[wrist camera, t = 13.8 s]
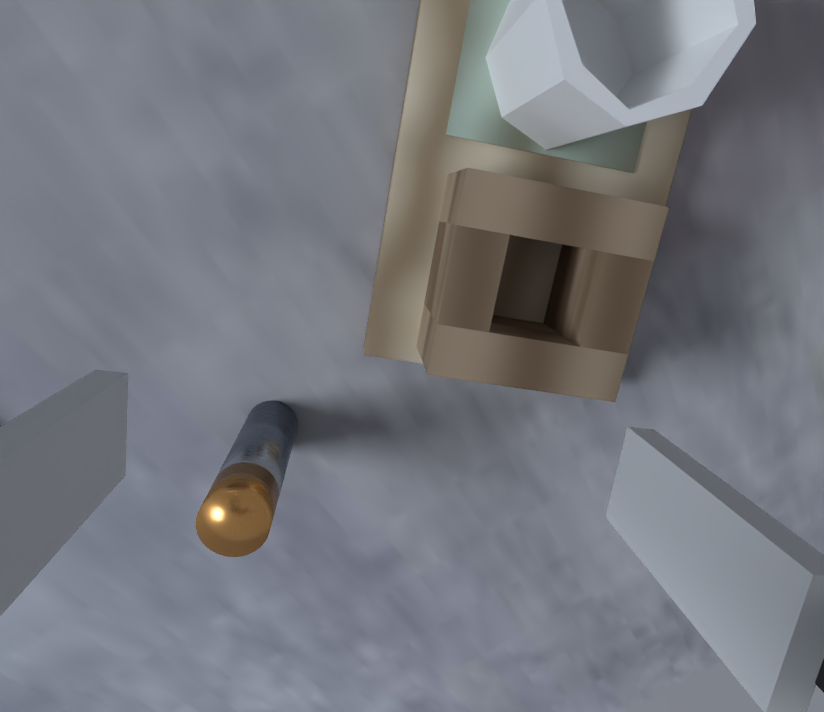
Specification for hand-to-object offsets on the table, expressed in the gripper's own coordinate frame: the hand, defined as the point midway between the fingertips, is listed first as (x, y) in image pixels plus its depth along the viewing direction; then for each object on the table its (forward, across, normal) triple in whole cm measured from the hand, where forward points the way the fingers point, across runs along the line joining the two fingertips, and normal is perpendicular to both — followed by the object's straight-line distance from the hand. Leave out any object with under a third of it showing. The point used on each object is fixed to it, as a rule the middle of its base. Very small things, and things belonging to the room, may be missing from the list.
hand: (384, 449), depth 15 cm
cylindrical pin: (+21, -5, -8) cm, 23 cm away
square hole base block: (+21, +8, +10) cm, 25 cm away
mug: (+19, +10, +16) cm, 27 cm away
